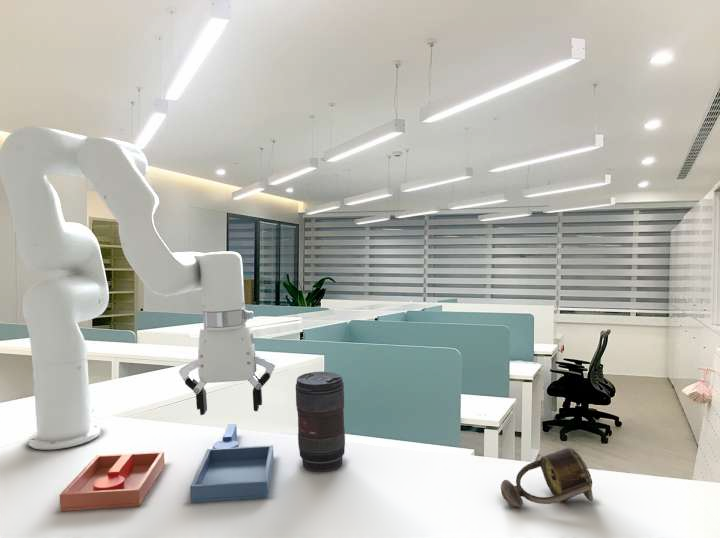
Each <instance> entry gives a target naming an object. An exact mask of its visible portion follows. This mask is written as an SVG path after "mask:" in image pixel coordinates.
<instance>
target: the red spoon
mask: <svg viewBox="0 0 720 538" xmlns="http://www.w3.org/2000/svg"><path fill="white" fill-rule="evenodd" d="M132 470H133V465H132V455H122V456H121V457H120V458H119V460H118V461H117V462H116V463H115V464H114V466H113V467H112V468H111V469H110V470H109V472H108V476H107V477H103V478H100V479H98V480H96V481H95V482H94V483H93V491H102V490H118V489H125V479H126V478H127V477H128V475H129V474H130V472H131V471H132Z"/></svg>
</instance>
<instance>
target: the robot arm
mask: <svg viewBox="0 0 720 538" xmlns="http://www.w3.org/2000/svg"><path fill="white" fill-rule="evenodd" d="M148 165H149V164H148V159H147V158H146V156H145V154H144V153H143V151H142V150H141V149H140V148H139V147H138V146H137V145H134V144H132V143H129V142H126V141H122V140H117V139H113V138H109V137H91V136H86V135H81V134H77V133H72V132H68V131H64V130H59V129H56V128H51V127H47V126H39V125H38V126H37V125H28V126H23V127H20V128H17V129H15V130H14V131H12V132H11V133H10V134H9V135H8V136H7V137H6V138H5V140H4V141H3V143H2V145H1V147H0V179H1V182H2V185H3V188H4V191H5V193H6V197H7V200H8V204H9V208H10V213H11V219H12V224H13V228H14V232H15V238H16V242H17V246H18V250H19V254H20V258H21V261H22V263H23V264H24V266H25V267H26V268H27V269H30V270H31V271H35V272H39V273H46V272H47V273H48V272H58V271H59V272H60V274H61V276H59V277H52V278H51V277H50V278H46V279H43V280H40V281H37V282H35V283H34V284H31V286H29V288H28V289H27V290H26V292H25V293H24V295H23V298H22V303H21V304H22V305H21V307H22V314H23V318H24V322H25V324H26V327H27V331H28V332H27V333H28V336H29V342H30V351H31V364H32V378H33V390H34V406H35V419H36V421H35V422H36V431H35V432H34V433H32V434H31V435H30V436H29V437H28V441H27V442H28V446H29V447H31V448H32V449H36V450H44V451H45V450H47V451H50V450H61V449H66V448H73V447H76V446H79V445H83V444H86V443H88V442H91V441H93V440H94V439H96V438H97V437H99V436H100V434H101V426H100V425H99V424H98V423H95V422H92V413H93V412H94V407H93V406H92V405H91V397H90V396H91V395H90V379H89V364H88V362H89V361H88V350H87V343H86V339H85V337H84V334H83V333H82V331H81V329H80V326H79V323H82V322H87V321H90V320H93V319H96V318H98V317H100V316H102V315H103V313H105V311H106V310H107V308H108V305H109V301H110V292H109V290H110V289H109V284H108V281H107V276H106V270H105V265H104V260H103V256H102V253H101V252H102V251H101V246H100V244H99V241H98V239H97V237H96V236H95V234H94V233H93V231H91V230H90V229H89V228H88V227H87V226H84V225H83V224H81V223H76V222H66V221H65V218H64V214H63V211H62V206H61V201H60V198H59V195H58V193H57V190H55V188H54V186H53V185H52V184H51V182H50V181H49V179H48V177H47V176H48V175H49V174H51V175H56V176H57V175H58V176H65V177H74V178H81V179H86V180H87V181H88V183H89V184H90V185H91V187H92V188H93V189H94V191H95V192H96V194H97V195H98V197H99V198H100V200H101V201H102V202H103V204H104V205H105V207H106V208H107V209H108V211H109V212H110V213H111V215H112V216H113V218H114V219H115V220H116V222H117V224H118V237H119V242H120V245H121V246H120V247H121V249H122V252H123V255H124V257H125V259H126V260H127V262H128V264H129V265H130V267H131V268H132V270H133V271H134V272H135V274H136V275H137V276H138V278H139V279H140V281H142V283H143V284H144V286H145V287H147V289H149V290H150V291H151V292H153V293H154V294H156V295H158V296H161V297H174V296H178V295H182V294H188V293H192V292H195V291H201V304H202V305H201V306H202V321H203V326H201V327H200V329H199V336H198V346H197V347H198V348H197V349H198V351H197V352H198V353H197V359H194V360H193V361H191V362H190V363H188V364H186V365H184V366H183V367H181V368H180V369H179V370H178V374H179V375H180V377H181V379H182V380H183V381H184V384H185V386H187V387H188V388H189V389H191V390H192V392H193V394H194V395H195V399H196V401H195V402H196V403H195V404H196V410H197V411H198V410H199V416H204V415H205V414H206V412H207V411H208V402H207V390H206V389H205V386H206V385H207V384H213V383H215V384H216V383H231V382H243V381H248V382H249V384H251V386H252V387H253V388H252V403H253V404H252V406H253V411H254V412H258V411H259V409H260V406H263V393H262V392H263V391H262V389H263V387H264V385H265V384H266V383H268V381H269V380H270V378H271V376H272V374H273V372H274V370H275V367H276V363H275V362H274V361H271V360H269V359H268V358H267V359H266V358H265V357H262V356H260V355H257V354H256V347H255V339H254V335H253V330H252V326H251V324H250V323H247V321H248V320H252V319H254V311H250V310H247V309H246V304H245V303H246V302H245V288H244V287H245V285H244V271H243V270H244V269H243V259H242V256H241V254H240V253H239V252H236V251H213V252H206V253H205V252H197V251H182V252H181V251H179V252H177V251H176V252H172V251H171V250H170V249H169V247H168V246H167V245H166V243H165V242H164V240H163V239H162V237H161V236H160V235H159V232H158V230H157V229H156V225H155V223H154V214H155V213H156V211H157V210H158V208H159V207H160V199H159V196H158V195H157V194H156V193H155V191H154V190H153V188H152V187H151V186H150V184H149V183H148V181H147V180H146V179H145V178H146V176H147V174H148V168H149V167H148ZM257 365H259V366H261V367H263V368H265V371H264V373H263V374H262V375H261V377H259V376H258V374H257V373H256V372H257ZM195 369H197V373H198V379H199V381H197V380H196V379H195V378H194V377H192V375H191V372H192V371H193V370H195Z"/></svg>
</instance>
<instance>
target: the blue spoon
mask: <svg viewBox="0 0 720 538" xmlns="http://www.w3.org/2000/svg"><path fill="white" fill-rule="evenodd" d="M237 429H238V428H237V424H236V423H228V424H227V426H226V428H225V430H224V433H223V435H222V440H219V441H216V442H215V443H213V444H212V449H219V448H236V447H239V442H238V441H237V437H238V432H237V431H238V430H237Z"/></svg>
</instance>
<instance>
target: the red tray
mask: <svg viewBox="0 0 720 538" xmlns="http://www.w3.org/2000/svg"><path fill="white" fill-rule="evenodd" d="M122 455H132V465H133V470H132V471H131V472H130V474H129V475H128V477H127V478H126V479H125V489H118V490H102V491H93V483H94V482H95V481H96V480H98V479H100V478H103V477H107V476H108V472H109V470H110V469H111V468H112V467H113V466H114V464H115V463H116V462H117V461H118V460H119V458H120V457H121V456H122ZM165 466H166V463H165V451H152V452H151V451H149V452H134V453H118V454H103V455H102V454H101V455H98V454H97V455H96V456H95V457H93V458H92V460H91V461H90V462H89V463H88V464H87V465H86V466H85V467H84V468H83V469H82V470H81V471H80V472H79V473H78V475H77V476H76V477H75V478H73V480H72V481H71V482H70V483H69V484H68V485H67V486H66V487H65V488H64V489H63V490H62V492H60V494H59V507H60V508H59V509H60V510H59V511H60V512H70V511H85V510H86V511H87V510H101V509H103V510H104V509H116V508H131V507H132V508H134V507H141V505H142V503H143V502H144V500H145V499H146V497H147V495H148V494H149V492H150V491H151V488H152V487H153V485H154V484H155V483H156V481H157V479H158V478H159V476H160V474H161V473H162V471H163V470H164V468H165Z"/></svg>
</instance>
